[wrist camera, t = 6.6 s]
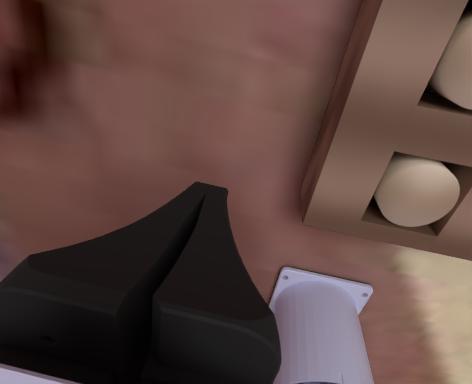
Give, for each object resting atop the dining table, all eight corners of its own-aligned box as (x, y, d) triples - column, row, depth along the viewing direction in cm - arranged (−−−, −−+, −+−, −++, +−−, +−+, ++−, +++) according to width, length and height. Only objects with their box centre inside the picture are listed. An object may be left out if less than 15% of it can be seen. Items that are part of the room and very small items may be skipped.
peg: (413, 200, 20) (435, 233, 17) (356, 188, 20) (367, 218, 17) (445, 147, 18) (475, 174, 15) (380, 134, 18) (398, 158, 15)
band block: (449, 222, 21) (479, 262, 18) (299, 191, 22) (302, 224, 19) (610, -7, 14) (713, -12, 11) (377, -48, 14) (405, -65, 11)
